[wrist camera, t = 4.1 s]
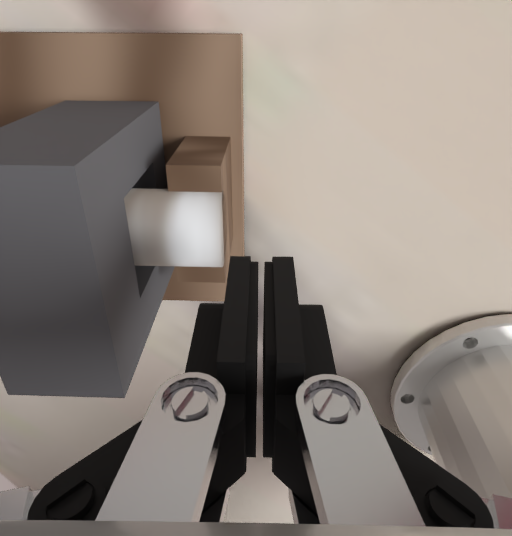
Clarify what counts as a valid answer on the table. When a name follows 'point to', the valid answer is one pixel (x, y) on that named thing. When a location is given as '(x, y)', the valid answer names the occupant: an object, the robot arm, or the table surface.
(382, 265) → the table surface
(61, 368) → the collar
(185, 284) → the pipe rig
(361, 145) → the table surface
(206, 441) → the robot arm
